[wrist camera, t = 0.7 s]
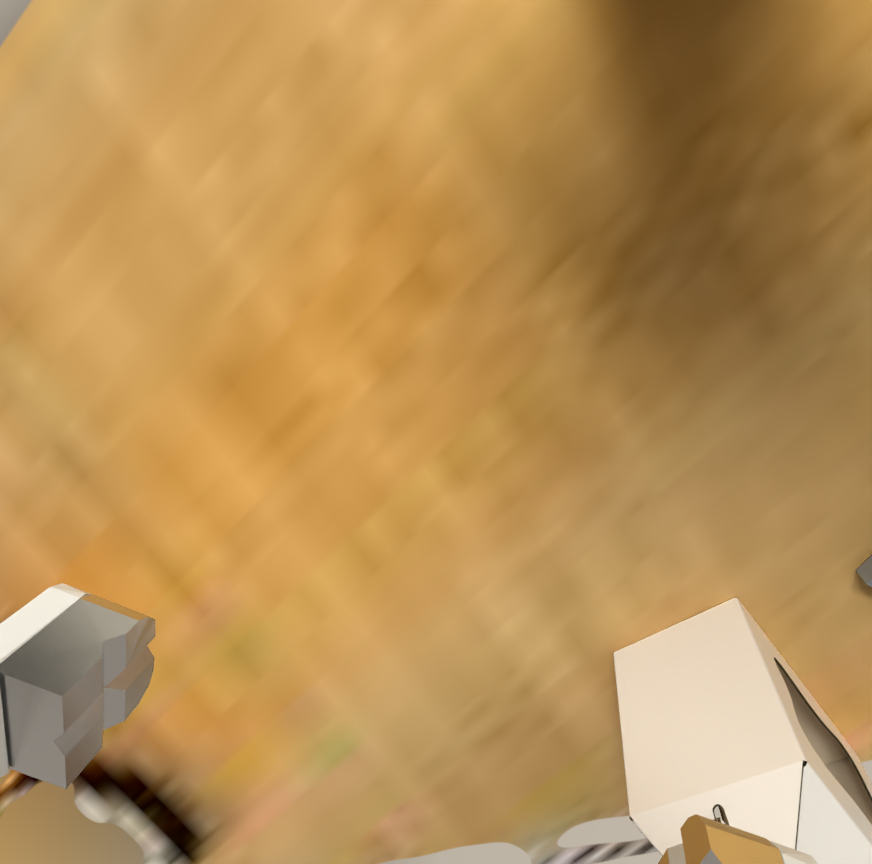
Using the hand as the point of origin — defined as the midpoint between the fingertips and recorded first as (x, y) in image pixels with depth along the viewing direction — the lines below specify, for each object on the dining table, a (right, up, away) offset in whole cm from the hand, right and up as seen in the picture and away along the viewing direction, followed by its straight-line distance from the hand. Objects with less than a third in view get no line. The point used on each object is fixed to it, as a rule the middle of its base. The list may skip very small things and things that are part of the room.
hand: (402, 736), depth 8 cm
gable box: (+30, -22, +50) cm, 62 cm away
